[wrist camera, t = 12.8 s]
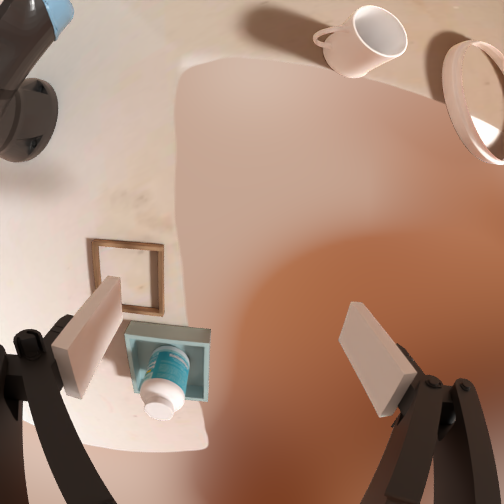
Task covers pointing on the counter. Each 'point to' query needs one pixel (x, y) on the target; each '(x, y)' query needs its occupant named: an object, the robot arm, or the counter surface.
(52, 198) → the counter surface
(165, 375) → the pill bottle
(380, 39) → the mug
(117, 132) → the counter surface
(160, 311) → the frame
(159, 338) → the bin
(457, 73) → the white hollow ring
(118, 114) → the counter surface
